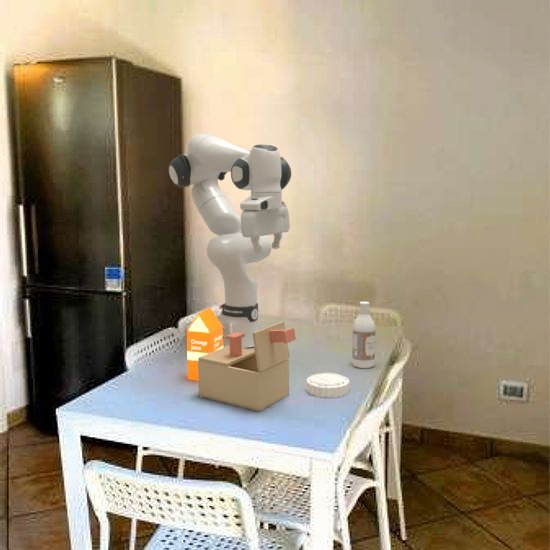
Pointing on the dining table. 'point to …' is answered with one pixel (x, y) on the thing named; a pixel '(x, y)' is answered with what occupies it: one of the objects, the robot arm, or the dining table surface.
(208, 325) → the orange juice
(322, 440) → the dining table surface
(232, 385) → the carton
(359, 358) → the bath foam
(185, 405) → the dining table surface
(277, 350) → the flap right
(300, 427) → the dining table surface
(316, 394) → the mooncake
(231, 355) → the flap left
